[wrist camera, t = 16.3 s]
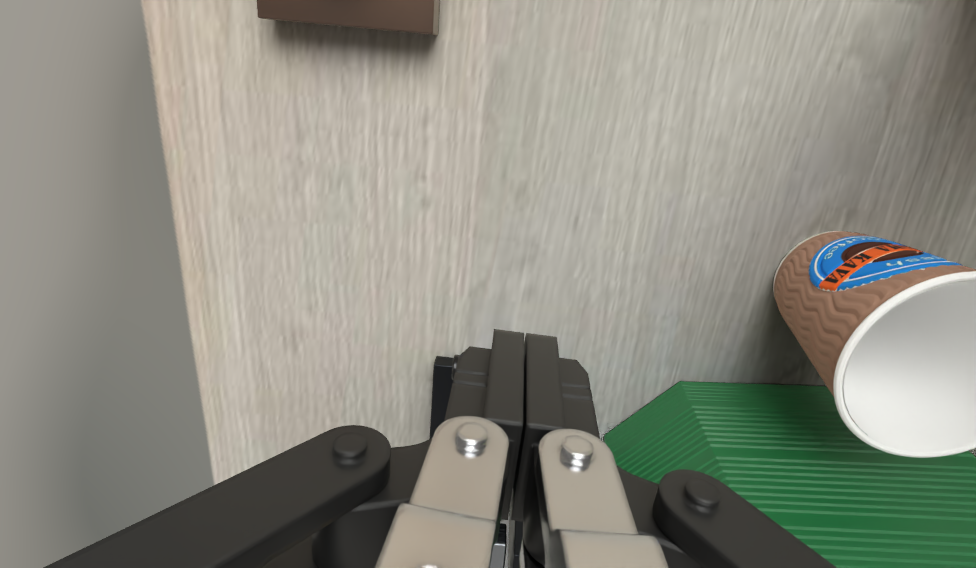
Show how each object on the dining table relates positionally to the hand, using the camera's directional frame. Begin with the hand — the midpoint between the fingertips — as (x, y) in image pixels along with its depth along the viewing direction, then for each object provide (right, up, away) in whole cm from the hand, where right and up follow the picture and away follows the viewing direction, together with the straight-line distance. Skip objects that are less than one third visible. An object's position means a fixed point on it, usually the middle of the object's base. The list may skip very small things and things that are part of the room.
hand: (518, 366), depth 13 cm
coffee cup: (+22, +2, +25) cm, 33 cm away
